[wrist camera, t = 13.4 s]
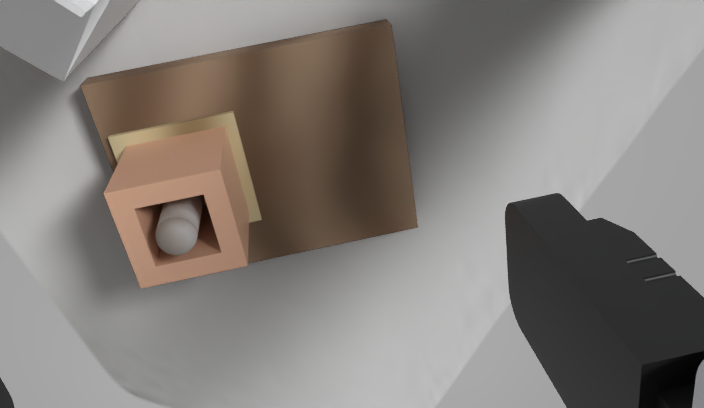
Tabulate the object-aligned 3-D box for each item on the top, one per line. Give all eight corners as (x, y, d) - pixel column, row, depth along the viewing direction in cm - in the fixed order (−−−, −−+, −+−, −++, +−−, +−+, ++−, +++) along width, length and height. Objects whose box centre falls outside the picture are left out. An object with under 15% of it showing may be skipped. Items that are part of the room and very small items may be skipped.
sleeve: (225, 126, 35) (220, 169, 30) (249, 212, 38) (248, 265, 33) (126, 146, 35) (103, 193, 30) (157, 231, 38) (141, 288, 33)
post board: (386, 19, 36) (424, 60, 28) (412, 216, 42) (450, 296, 34) (86, 77, 35) (37, 137, 27) (158, 269, 41) (135, 364, 33)
